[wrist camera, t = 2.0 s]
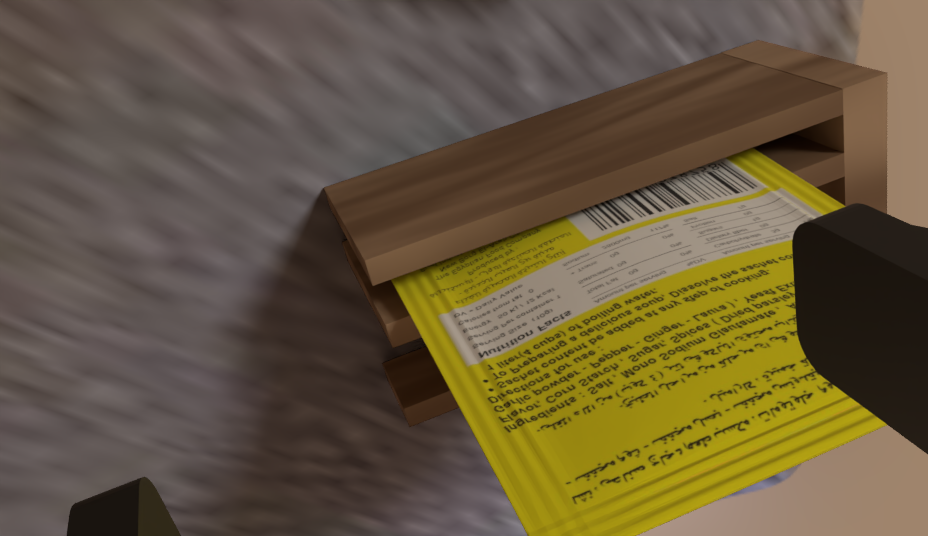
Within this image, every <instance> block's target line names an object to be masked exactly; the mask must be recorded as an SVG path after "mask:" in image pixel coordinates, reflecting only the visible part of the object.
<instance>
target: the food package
mask: <svg viewBox="0 0 928 536" xmlns="http://www.w3.org/2000/svg"><path fill="white" fill-rule="evenodd" d="M843 207H846V206H844V205H843V204H841V203H839V202H838V201H836V200H835V199H833V198H831V197H830V196H828V195H827V194H825V193H823V192H822V191H820V190H819V189H817V188H816V187H814V186H812V185H811V184H809V183H808V182H806V181H804V180H803V179H801V178H800V177H798V176H796V175H795V174H793V173H792V172H790V171H789V170H787V169H785V168H784V167H782V166H781V165H779V164H777V163H776V162H774V161H773V160H771V159H770V158H768V157H766V156H765V155H763V154H762V153H760V152H758V151H757V150H755V149H754V148H750V149H747V150H744V151H742V152H739V153H736V154H733V155H731V156H728V157H725V158H722V159H720V160H717V161H714V162H711V163H709V164H706V165H703V166H700V167H698V168H695V169H692V170H690V171H687V172H684V173H681V174H679V175H676V176H673V177H670V178H668V179H665V180H662V181H659V182H657V183H654V184H651V185H648V186H646V187H643V188H640V189H637V190H635V191H632V192H629V193H626V194H624V195H621V196H618V197H615V198H613V199H610V200H607V201H604V202H602V203H599V204H596V205H594V206H591V207H588V208H585V209H583V210H580V211H577V212H574V213H572V214H569V215H566V216H563V217H561V218H558V219H555V220H552V221H550V222H547V223H544V224H541V225H539V226H536V227H533V228H530V229H528V230H525V231H522V232H519V233H517V234H514V235H511V236H508V237H506V238H503V239H500V240H497V241H495V242H492V243H489V244H487V245H484V246H481V247H478V248H476V249H473V250H470V251H467V252H465V253H462V254H459V255H456V256H454V257H451V258H448V259H445V260H443V261H440V262H437V263H434V264H432V265H429V266H426V267H423V268H421V269H418V270H415V271H412V272H410V273H407V274H404V275H401V276H399V277H396V278H393V279H391V281H392V283H393V285H394V287H395V288H396V290H397V292H398V294H399V296H400V298H401V300H402V301H403V303H404V305H405V307H406V309H407V311H408V313H409V315H410V316H411V318H412V320H413V322H414V324H415V326H416V328H417V329H418V331H419V333H420V335H421V337H422V339H423V341H424V342H425V344H426V346H427V348H428V350H429V352H430V354H431V356H432V357H433V359H434V361H435V363H436V365H437V367H438V369H439V370H440V372H441V374H442V376H443V378H444V380H445V382H446V383H447V385H448V387H449V389H450V391H451V393H452V395H453V397H454V398H455V400H456V402H457V404H458V406H459V408H460V410H461V411H462V413H463V415H464V417H465V419H466V421H467V423H468V424H469V426H470V428H471V430H472V432H473V434H474V436H475V437H476V439H477V441H478V443H479V445H480V447H481V449H482V450H483V452H484V454H485V456H486V458H487V460H488V462H489V464H490V465H491V467H492V469H493V471H494V473H495V475H496V477H497V478H498V480H499V482H500V484H501V486H502V488H503V490H504V491H505V493H506V495H507V497H508V499H509V501H510V503H511V504H512V506H513V508H514V510H515V512H516V514H517V516H518V518H519V520H520V521H521V523H522V525H523V527H524V529H525V531H526V533H527V535H528V536H636V535H639V534H641V533H643V532H646V531H648V530H650V529H653V528H655V527H657V526H659V525H662V524H664V523H666V522H669V521H671V520H673V519H675V518H678V517H680V516H682V515H684V514H687V513H689V512H692V511H694V510H696V509H698V508H701V507H703V506H705V505H708V504H710V503H712V502H714V501H717V500H719V499H721V498H723V497H726V496H728V495H730V494H733V493H735V492H737V491H739V490H742V489H744V488H746V487H748V486H751V485H753V484H755V483H758V482H760V481H762V480H764V479H767V478H769V477H771V476H773V475H776V474H778V473H780V472H782V471H785V470H787V469H789V468H792V467H794V466H796V465H798V464H801V463H803V462H805V461H807V460H810V459H812V458H814V457H817V456H819V455H821V454H823V453H826V452H828V451H830V450H832V449H835V448H837V447H839V446H841V445H844V444H846V443H848V442H851V441H853V440H855V439H857V438H859V437H862V436H864V435H866V434H868V433H871V432H873V431H875V430H877V429H879V428H881V427H884V426H886V425H887V424H886V423H885V422H883V421H882V420H880V419H879V418H878V417H876V416H875V415H874V414H872V413H871V412H870V411H868V410H867V409H865V408H864V407H863V406H861V405H860V404H859V403H857V402H856V401H855V400H853V399H852V398H850V397H849V396H848V395H846V394H845V393H844V392H842V391H841V390H840V389H838V388H837V387H835V386H834V385H833V384H831V383H830V382H829V381H827V380H826V379H825V378H823V377H822V376H821V375H820V374H819V373H818V372H817V371H816V370H815V369H814V368H813V366H812V365H811V364H810V362H809V361H808V359H807V358H806V356H805V354H804V352H803V350H802V348H801V345H800V342H799V339H798V334H797V325H796V307H795V289H794V271H793V252H792V239H793V234H794V232H795V230H796V228H797V227H798V226H799V225H800V224H802V223H804V222H807V221H810V220H812V219H815V218H817V217H820V216H823V215H825V214H828V213H830V212H833V211H835V210H838V209H841V208H843Z"/></svg>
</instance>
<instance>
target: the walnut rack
mask: <svg viewBox="0 0 928 536" xmlns="http://www.w3.org/2000/svg"><path fill="white" fill-rule="evenodd" d="M750 148H754V149H755V150H757V151H758V152H760V153H762V154H763V155H765V156H766V157H768V158H770V159H771V160H773V161H774V162H776V163H777V164H779V165H781V166H782V167H784V168H785V169H787V170H789V171H790V172H792V173H793V174H795V175H796V176H798V177H800V178H801V179H803V180H804V181H806V182H808V183H809V184H811V185H812V186H814V187H816V188H817V189H819V190H820V191H822V192H823V193H825V194H827V195H828V196H830V197H831V198H833V199H835V200H836V201H838V202H839V203H841V204H843V205H844V206H848V205H851V204H855V203H861V204H865V205H868V206H870V207H872V208H875V209H877V210H879V211H881V212H884V213H886V214H887V73H886V72H882V71H878V70H873V69H870V68H866V67H862V66H858V65H854V64H851V63H847V62H843V61H839V60H835V59H831V58H827V57H823V56H819V55H815V54H811V53H807V52H803V51H799V50H796V49H792V48H788V47H784V46H780V45H776V44H772V43H768V42H764V41H760V40H757V41H754V42H751V43H748V44H745V45H742V46H739V47H736V48H733V49H731V50H728V51H725V52H722V53H720V54H717V55H714V56H711V57H708V58H705V59H702V60H699V61H696V62H693V63H690V64H688V65H685V66H682V67H679V68H676V69H673V70H670V71H667V72H664V73H661V74H658V75H655V76H652V77H649V78H646V79H643V80H640V81H637V82H634V83H631V84H628V85H626V86H623V87H620V88H617V89H614V90H611V91H608V92H605V93H602V94H599V95H596V96H593V97H590V98H587V99H584V100H581V101H578V102H575V103H572V104H569V105H566V106H563V107H561V108H558V109H555V110H552V111H549V112H546V113H543V114H540V115H537V116H534V117H531V118H528V119H525V120H522V121H519V122H516V123H513V124H510V125H507V126H504V127H501V128H499V129H496V130H493V131H490V132H487V133H484V134H481V135H478V136H475V137H472V138H469V139H466V140H463V141H460V142H457V143H454V144H451V145H448V146H445V147H442V148H439V149H437V150H434V151H431V152H428V153H425V154H422V155H419V156H416V157H413V158H410V159H407V160H404V161H401V162H398V163H395V164H392V165H389V166H386V167H383V168H380V169H377V170H375V171H372V172H369V173H366V174H363V175H360V176H357V177H354V178H351V179H348V180H345V181H342V182H339V183H336V184H333V185H330V186H327V187H324V190H325V193H326V196H327V199H328V202H329V205H330V208H331V210H332V212H333V214H334V216H335V218H336V220H337V221H338V223H339V225H340V227H341V229H342V230H343V232H344V234H345V236H346V238H347V241H344V242H342V244H343V247H344V250H345V253H346V256H347V259H348V262H349V264H350V266H351V268H352V270H353V272H354V274H355V276H356V278H357V280H358V282H359V284H360V285H361V287H362V289H363V291H364V293H365V295H366V297H367V299H368V301H369V303H370V305H371V307H372V309H373V311H374V313H375V314H376V316H377V318H378V320H379V322H380V324H381V326H382V328H383V330H384V332H385V334H386V336H387V338H388V340H389V342H390V343H391V345H392V347H393V348H395V347H397V346H400V345H403V344H405V343H408V342H411V341H413V340H416V339H418V338H421V335H420V333H419V331H418V329H417V328H416V326H415V324H414V322H413V320H412V318H411V316H410V315H409V313H408V311H407V309H406V307H405V305H404V303H403V301H402V300H401V298H400V296H399V294H398V292H397V290H396V288H395V287H394V285H393V283H392V281H391V279H393V278H396V277H399V276H401V275H404V274H407V273H410V272H412V271H415V270H418V269H421V268H423V267H426V266H429V265H432V264H434V263H437V262H440V261H443V260H445V259H448V258H451V257H454V256H456V255H459V254H462V253H465V252H467V251H470V250H473V249H476V248H478V247H481V246H484V245H487V244H489V243H492V242H495V241H497V240H500V239H503V238H506V237H508V236H511V235H514V234H517V233H519V232H522V231H525V230H528V229H530V228H533V227H536V226H539V225H541V224H544V223H547V222H550V221H552V220H555V219H558V218H561V217H563V216H566V215H569V214H572V213H574V212H577V211H580V210H583V209H585V208H588V207H591V206H594V205H596V204H599V203H602V202H604V201H607V200H610V199H613V198H615V197H618V196H621V195H624V194H626V193H629V192H632V191H635V190H637V189H640V188H643V187H646V186H648V185H651V184H654V183H657V182H659V181H662V180H665V179H668V178H670V177H673V176H676V175H679V174H681V173H684V172H687V171H690V170H692V169H695V168H698V167H700V166H703V165H706V164H709V163H711V162H714V161H717V160H720V159H722V158H725V157H728V156H731V155H733V154H736V153H739V152H742V151H744V150H747V149H750ZM382 364H383V367H384V370H385V373H386V376H387V379H388V382H389V384H390V386H391V388H392V390H393V392H394V395H395V397H396V399H397V401H398V403H399V405H400V407H401V409H402V411H403V414H404V416H405V418H406V420H407V422H408V424H409V426H410V427H411V426H414V425H416V424H419V423H421V422H424V421H426V420H429V419H431V418H434V417H436V416H439V415H441V414H444V413H446V412H449V411H451V410H454V409H456V408H459V406H458V404H457V402H456V400H455V398H454V397H453V395H452V393H451V391H450V389H449V387H448V385H447V383H446V382H445V380H444V378H443V376H442V374H441V372H440V370H439V369H438V367H437V365H436V363H435V361H434V359H433V357H432V356H431V354H430V352H429V350H428V348H427V346H426V347H424V348H421V349H418V350H416V351H413V352H411V353H408V354H405V355H403V356H400V357H397V358H395V359H392V360H390V361H387V362H384V363H382Z"/></svg>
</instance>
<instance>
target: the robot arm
mask: <svg viewBox="0 0 928 536" xmlns="http://www.w3.org/2000/svg"><path fill="white" fill-rule="evenodd" d="M792 252H793V271H794V289H795V307H796V325H797V334H798V339H799V342H800V345H801V348H802V350H803V352H804V354H805V356H806V358H807V359H808V361H809V362H810V364H811V365H812V366H813V368H814V369H815V370H816V371H817V372H818V373H819V374H820V375H821V376H822V377H823V378H825V379H826V380H827V381H829V382H830V383H831V384H833V385H834V386H835V387H837V388H838V389H840V390H841V391H842V392H844V393H845V394H846V395H848V396H849V397H850V398H852V399H853V400H855V401H856V402H857V403H859V404H860V405H861V406H863V407H864V408H865V409H867V410H868V411H870V412H871V413H872V414H874V415H875V416H876V417H878V418H879V419H880V420H882V421H883V422H885V423H886V424H887V425H889V426H890V427H892V428H893V429H894V430H896V431H897V432H898V433H900V434H901V435H902V436H904V437H905V438H906V439H908V440H909V441H910V442H912V443H913V444H915V445H916V446H917V447H919V448H920V449H921V450H923V451H924V452H926V453H927V454H928V228H925V227H920V226H914V225H910V224H908V223H906V222H904V221H901V220H899V219H897V218H895V217H892V216H890V215H888V214H886V213H884V212H881V211H879V210H877V209H875V208H872V207H870V206H868V205H865V204H861V203H855V204H851V205H848V206H846V207H843V208H841V209H838V210H835V211H833V212H830V213H828V214H825V215H823V216H820V217H817V218H815V219H812V220H810V221H807V222H804V223H802V224H800V225H799V226H798V227H797V228H796V230H795V232H794V234H793V239H792ZM67 536H181V535H180V533H179V531H178V529H177V528H176V526H175V524H174V522H173V520H172V518H171V516H170V514H169V512H168V510H167V509H166V507H165V505H164V503H163V501H162V499H161V497H160V495H159V493H158V492H157V490H156V488H155V487H154V485H153V484H152V482H151V481H150V480H149V479H148V478H146V477H142V478H139V479H137V480H134V481H132V482H129V483H126V484H124V485H121V486H119V487H116V488H113V489H111V490H108V491H106V492H103V493H101V494H98V495H95V496H93V497H90V498H88V499H85V500H82V501H80V502H77V503H75V504H74V505H73V506H72V508H71V510H70V515H69V522H68V530H67Z"/></svg>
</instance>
